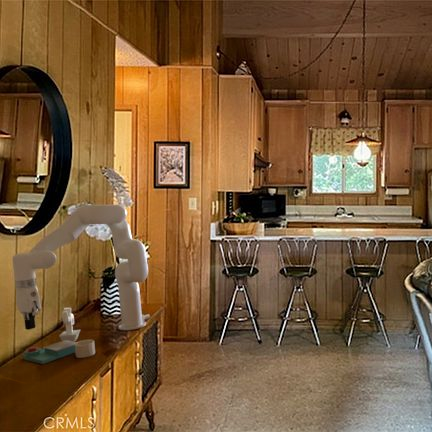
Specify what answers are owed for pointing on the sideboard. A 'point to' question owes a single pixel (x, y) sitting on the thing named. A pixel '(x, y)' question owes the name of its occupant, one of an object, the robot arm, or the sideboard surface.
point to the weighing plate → (61, 348)
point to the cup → (84, 348)
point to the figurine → (69, 326)
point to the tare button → (32, 349)
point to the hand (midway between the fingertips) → (30, 328)
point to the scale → (39, 356)
